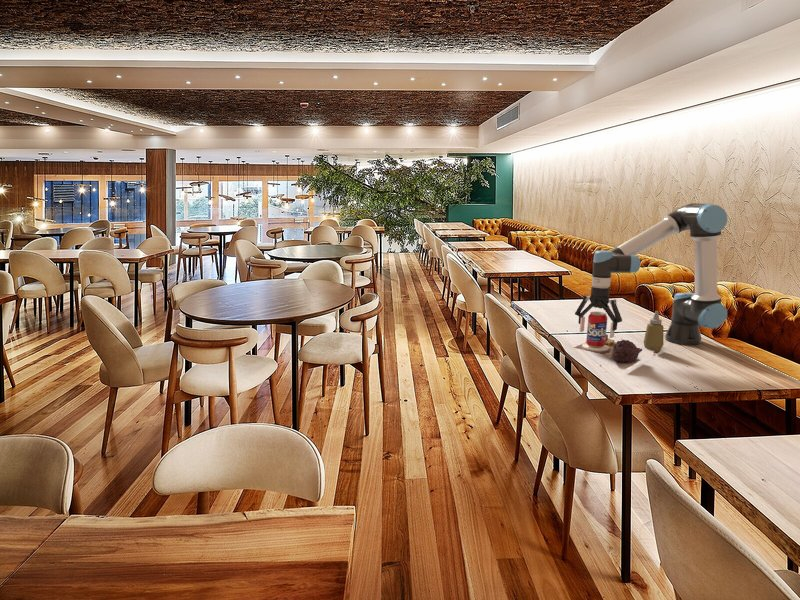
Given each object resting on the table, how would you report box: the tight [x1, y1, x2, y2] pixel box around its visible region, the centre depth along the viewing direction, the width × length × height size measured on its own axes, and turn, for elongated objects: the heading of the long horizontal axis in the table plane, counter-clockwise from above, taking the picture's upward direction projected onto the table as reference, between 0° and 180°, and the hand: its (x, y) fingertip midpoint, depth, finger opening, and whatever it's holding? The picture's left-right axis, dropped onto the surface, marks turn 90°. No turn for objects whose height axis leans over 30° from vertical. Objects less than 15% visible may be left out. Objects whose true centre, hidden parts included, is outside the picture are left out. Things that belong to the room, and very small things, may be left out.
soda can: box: [585, 311, 608, 348], centre depth 234 cm, size 8×8×15 cm
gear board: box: [573, 341, 617, 356], centre depth 239 cm, size 14×22×2 cm, turn 136°
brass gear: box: [605, 333, 615, 346], centre depth 243 cm, size 8×8×4 cm
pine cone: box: [611, 339, 643, 364], centre depth 218 cm, size 18×10×10 cm, turn 126°
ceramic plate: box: [581, 342, 609, 352], centre depth 236 cm, size 11×11×1 cm
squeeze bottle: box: [643, 310, 665, 354], centre depth 235 cm, size 8×8×18 cm
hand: (596, 334), depth 235 cm, fingers open, 13 cm apart
